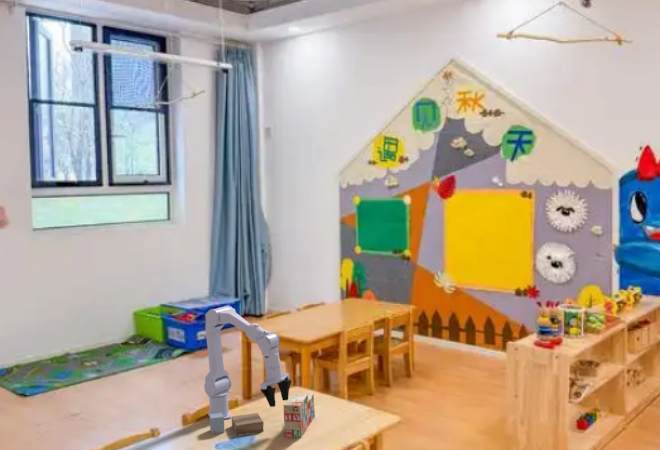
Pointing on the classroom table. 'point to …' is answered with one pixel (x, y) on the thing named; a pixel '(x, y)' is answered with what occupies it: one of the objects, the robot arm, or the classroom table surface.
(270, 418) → the classroom table surface
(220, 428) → the grey block
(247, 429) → the walnut base
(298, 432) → the stack of blocks
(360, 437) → the classroom table surface
